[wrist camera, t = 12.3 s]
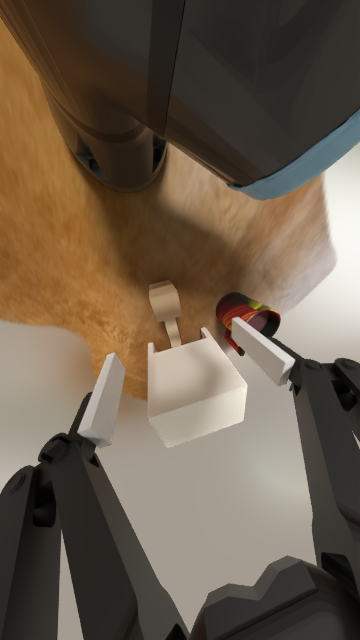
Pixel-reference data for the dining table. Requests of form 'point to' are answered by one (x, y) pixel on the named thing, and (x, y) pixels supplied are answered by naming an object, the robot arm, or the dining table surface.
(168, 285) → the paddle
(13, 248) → the dining table surface
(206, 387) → the cabinet
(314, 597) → the robot arm
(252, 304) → the mug
